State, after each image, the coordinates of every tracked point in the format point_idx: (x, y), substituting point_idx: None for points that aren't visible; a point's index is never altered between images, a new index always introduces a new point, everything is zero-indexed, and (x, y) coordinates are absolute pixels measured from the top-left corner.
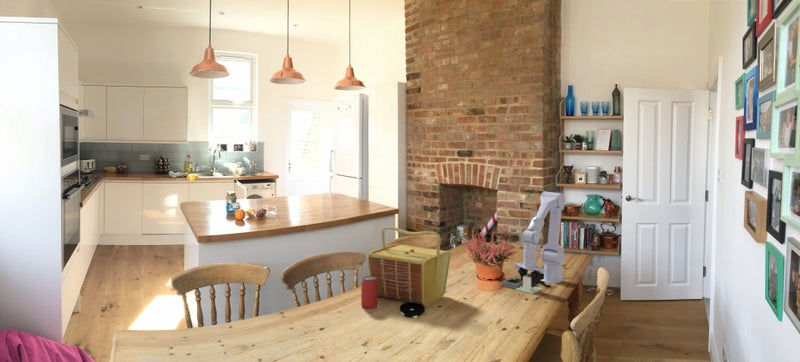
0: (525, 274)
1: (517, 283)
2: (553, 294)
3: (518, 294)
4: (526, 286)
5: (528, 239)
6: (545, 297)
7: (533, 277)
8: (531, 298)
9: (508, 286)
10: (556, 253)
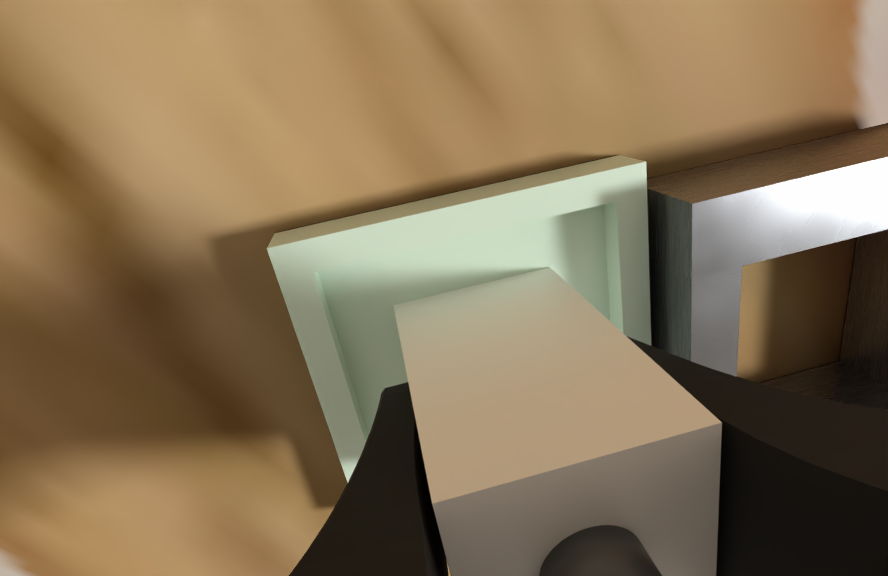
0: (737, 561)
1: (726, 306)
2: (134, 539)
3: (441, 10)
4: (495, 319)
5: None
6: (30, 330)
7: (332, 559)
8: (76, 22)
9: (805, 154)
10: None
